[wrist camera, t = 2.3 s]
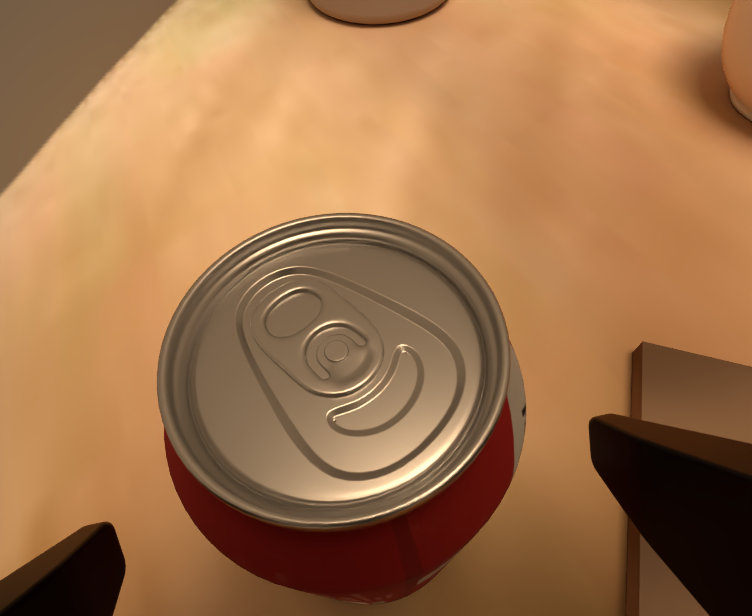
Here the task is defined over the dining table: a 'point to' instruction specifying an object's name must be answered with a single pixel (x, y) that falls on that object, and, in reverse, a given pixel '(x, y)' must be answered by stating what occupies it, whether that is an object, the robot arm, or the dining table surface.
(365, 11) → the cylinder vase
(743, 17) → the lidded bowl
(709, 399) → the walnut serving board
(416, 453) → the soda can
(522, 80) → the dining table surface
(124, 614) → the dining table surface
